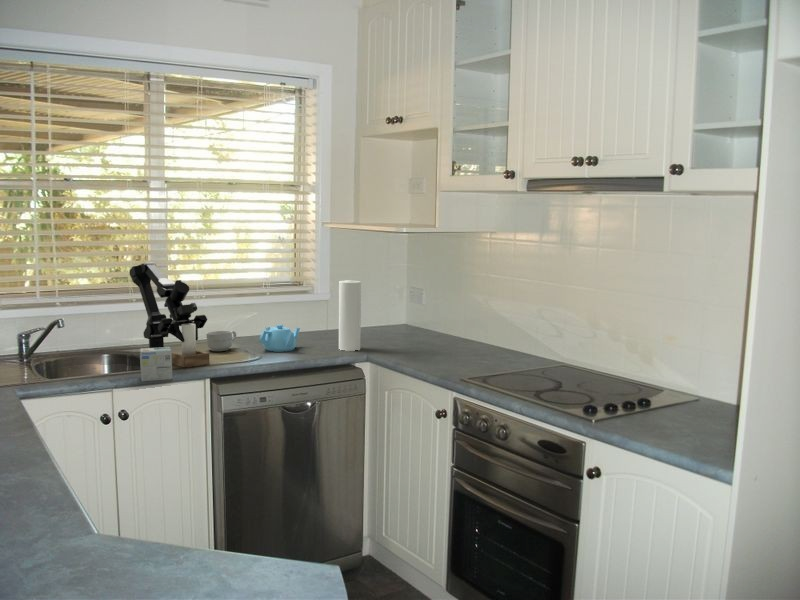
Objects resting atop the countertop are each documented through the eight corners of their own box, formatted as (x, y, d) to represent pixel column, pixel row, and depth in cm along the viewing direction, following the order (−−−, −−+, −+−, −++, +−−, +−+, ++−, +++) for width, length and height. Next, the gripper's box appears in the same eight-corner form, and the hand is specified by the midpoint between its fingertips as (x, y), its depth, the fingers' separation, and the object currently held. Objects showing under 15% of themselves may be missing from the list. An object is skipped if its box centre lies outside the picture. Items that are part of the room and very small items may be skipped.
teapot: (266, 345, 337) (266, 321, 336) (300, 346, 336) (300, 322, 335) (258, 352, 322) (258, 327, 321) (293, 353, 321) (293, 327, 320)
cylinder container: (359, 351, 327) (360, 281, 323) (337, 351, 327) (338, 281, 323) (361, 347, 336) (361, 279, 332) (339, 346, 336) (340, 279, 333)
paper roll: (181, 356, 299) (181, 323, 297) (195, 355, 301) (195, 322, 299) (182, 359, 294) (181, 325, 292) (196, 358, 296) (195, 324, 294)
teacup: (213, 353, 317) (213, 334, 316) (201, 349, 325) (201, 331, 324) (243, 350, 326) (243, 331, 324) (231, 346, 334) (231, 328, 333)
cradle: (169, 362, 298) (168, 352, 297) (192, 359, 305) (192, 348, 305) (185, 367, 290) (185, 356, 289) (209, 363, 297) (209, 353, 297)
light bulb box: (171, 375, 277) (170, 346, 276) (172, 379, 271) (172, 349, 270) (140, 377, 273) (139, 347, 272) (141, 381, 267) (140, 351, 266)
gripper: (160, 298, 291) (174, 330, 284) (204, 294, 303) (219, 325, 297) (151, 315, 297) (165, 348, 291) (195, 311, 310) (209, 342, 304)
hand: (190, 340), depth 295 cm, fingers open, 5 cm apart
